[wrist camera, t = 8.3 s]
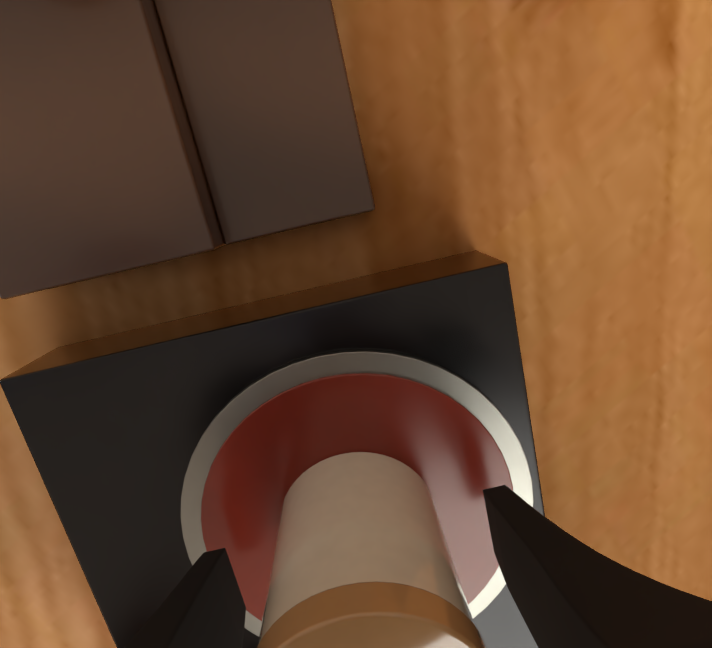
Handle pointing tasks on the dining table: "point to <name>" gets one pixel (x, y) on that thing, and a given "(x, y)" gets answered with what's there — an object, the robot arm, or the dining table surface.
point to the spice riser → (167, 132)
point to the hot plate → (222, 383)
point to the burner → (344, 435)
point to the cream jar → (363, 563)
